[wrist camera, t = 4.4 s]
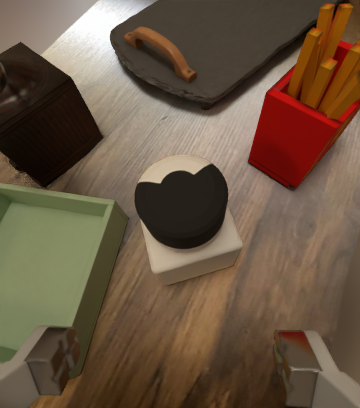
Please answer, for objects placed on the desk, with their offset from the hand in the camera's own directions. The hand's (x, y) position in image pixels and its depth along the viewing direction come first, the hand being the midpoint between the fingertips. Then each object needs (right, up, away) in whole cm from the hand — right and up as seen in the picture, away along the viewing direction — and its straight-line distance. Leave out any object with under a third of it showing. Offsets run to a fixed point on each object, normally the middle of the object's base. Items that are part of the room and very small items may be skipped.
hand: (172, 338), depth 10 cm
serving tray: (+9, +34, +31) cm, 47 cm away
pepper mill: (-15, +12, +23) cm, 30 cm away
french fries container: (+14, +12, +20) cm, 27 cm away
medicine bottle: (+1, +1, +16) cm, 16 cm away
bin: (-14, -2, +16) cm, 22 cm away
